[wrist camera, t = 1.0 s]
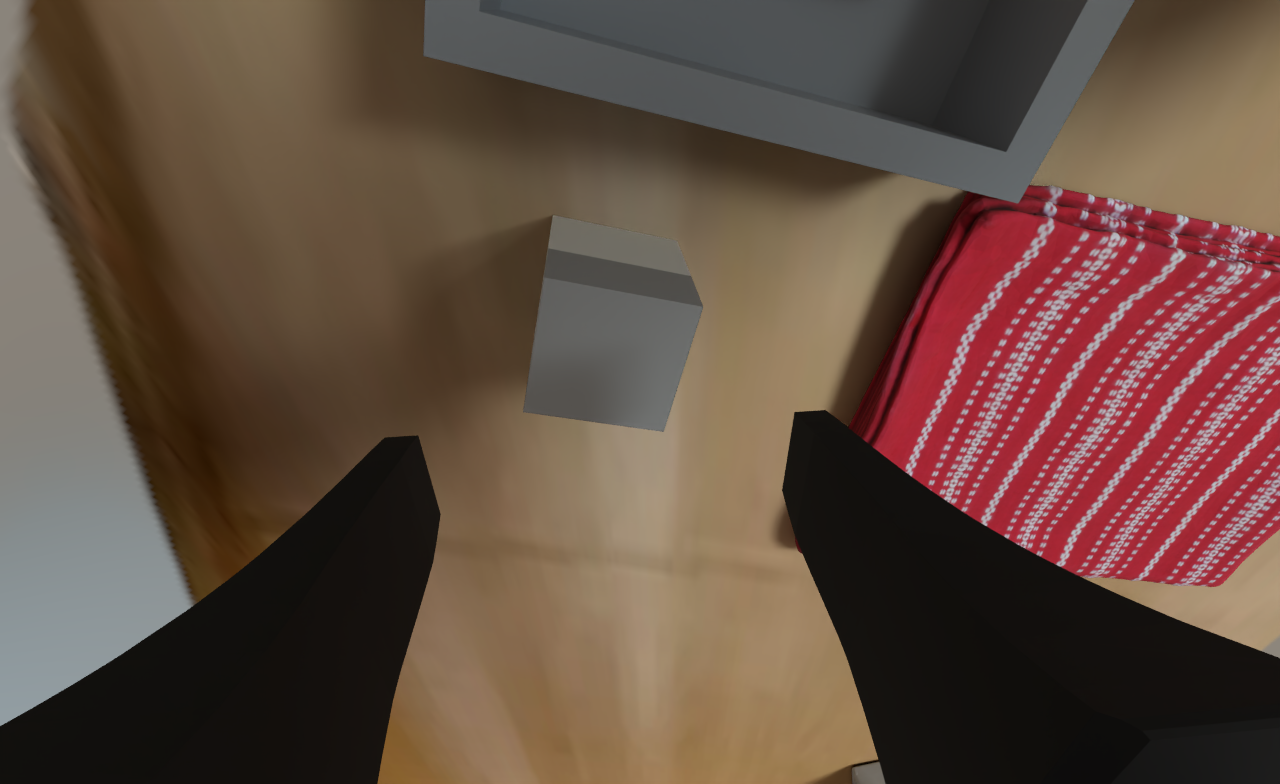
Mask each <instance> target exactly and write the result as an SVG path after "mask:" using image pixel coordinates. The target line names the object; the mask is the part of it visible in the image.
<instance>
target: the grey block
mask: <svg viewBox="0 0 1280 784" xmlns="http://www.w3.org/2000/svg"><path fill="white" fill-rule="evenodd" d="M702 309H703V305H702V302H701V300H700V297H699V295H698V292H697V290H696V287H695V285H694V282H693V280H692V277H691V275H690V272H689V270H688V267H687V264H686V262H685V259H684V257H683V254H682V252H681V249H680V247H679V244H678V242H677V240H672V239H667V238H662V237H658V236H653V235H648V234H643V233H638V232H633V231H629V230H624V229H619V228H614V227H609V226H604V225H599V224H595V223H590V222H585V221H580V220H575V219H570V218H566V217H561V216H556V215H553V218H552V224H551V231H550V237H549V243H548V250H547V256H546V263H545V269H544V276H543V282H542V289H541V295H540V301H539V308H538V314H537V321H536V327H535V334H534V341H533V348H532V355H531V362H530V368H529V375H528V382H527V389H526V396H525V403H524V410H523V412H526V413H534V414H541V415H548V416H555V417H562V418H569V419H576V420H583V421H591V422H598V423H605V424H612V425H619V426H626V427H633V428H640V429H648V430H655V431H662V432H664V429H665V426H666V422H667V419H668V416H669V413H670V410H671V407H672V404H673V400H674V397H675V394H676V391H677V388H678V385H679V382H680V378H681V375H682V372H683V369H684V366H685V363H686V360H687V356H688V353H689V350H690V347H691V344H692V341H693V338H694V334H695V331H696V328H697V325H698V322H699V319H700V316H701V312H702Z"/></svg>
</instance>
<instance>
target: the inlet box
mask: <svg viewBox="0 0 1280 784" xmlns="http://www.w3.org/2000/svg"><path fill="white" fill-rule="evenodd" d="M1133 2H1134V0H425V24H424V54H423V56H426V57H430V58H434V59H438V60H442V61H446V62H450V63H454V64H458V65H462V66H466V67H470V68H474V69H478V70H482V71H486V72H490V73H494V74H498V75H502V76H506V77H510V78H514V79H518V80H522V81H526V82H530V83H534V84H538V85H542V86H546V87H550V88H554V89H559V90H563V91H567V92H571V93H575V94H579V95H583V96H587V97H591V98H595V99H599V100H603V101H607V102H611V103H615V104H619V105H623V106H627V107H631V108H635V109H639V110H643V111H647V112H651V113H655V114H659V115H663V116H667V117H671V118H675V119H679V120H683V121H687V122H691V123H695V124H700V125H704V126H708V127H712V128H716V129H720V130H724V131H728V132H732V133H736V134H740V135H744V136H748V137H752V138H756V139H760V140H764V141H768V142H772V143H776V144H780V145H784V146H788V147H792V148H796V149H800V150H804V151H808V152H812V153H816V154H820V155H824V156H828V157H832V158H837V159H841V160H845V161H849V162H853V163H857V164H861V165H865V166H869V167H873V168H877V169H881V170H885V171H889V172H893V173H897V174H901V175H905V176H909V177H913V178H917V179H921V180H925V181H929V182H933V183H937V184H941V185H945V186H949V187H953V188H957V189H961V190H965V191H969V192H974V193H978V194H982V195H986V196H990V197H994V198H998V199H1002V200H1006V201H1010V202H1014V203H1019V201H1020V200H1021V198H1022V196H1023V194H1024V193H1025V191H1026V189H1027V187H1028V186H1029V184H1030V182H1031V180H1032V179H1033V177H1034V175H1035V173H1036V172H1037V170H1038V168H1039V166H1040V165H1041V163H1042V161H1043V159H1044V158H1045V156H1046V154H1047V152H1048V151H1049V149H1050V147H1051V145H1052V144H1053V142H1054V140H1055V138H1056V137H1057V135H1058V133H1059V131H1060V130H1061V128H1062V126H1063V124H1064V123H1065V121H1066V119H1067V117H1068V116H1069V114H1070V112H1071V111H1072V109H1073V107H1074V105H1075V104H1076V102H1077V100H1078V98H1079V97H1080V95H1081V93H1082V91H1083V90H1084V88H1085V86H1086V84H1087V83H1088V81H1089V79H1090V77H1091V76H1092V74H1093V72H1094V70H1095V69H1096V67H1097V65H1098V63H1099V62H1100V60H1101V58H1102V56H1103V55H1104V53H1105V51H1106V49H1107V48H1108V46H1109V44H1110V42H1111V41H1112V39H1113V37H1114V35H1115V34H1116V32H1117V30H1118V28H1119V27H1120V25H1121V23H1122V21H1123V20H1124V18H1125V16H1126V14H1127V13H1128V11H1129V9H1130V7H1131V6H1132V4H1133Z"/></svg>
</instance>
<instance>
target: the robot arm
mask: <svg viewBox="0 0 1280 784" xmlns="http://www.w3.org/2000/svg"><path fill="white" fill-rule="evenodd" d="M782 491H783V495H784V499H785V502H786V506H787V510H788V514H789V517H790V520H791V524H792V527H793V531H794V534H795V537H796V539H797V542H798V544H799V546H800V549H801V551H802V554H803V556H804V558H805V561H806V563H807V565H808V568H809V570H810V572H811V575H812V577H813V579H814V581H815V584H816V586H817V588H818V591H819V593H820V595H821V597H822V600H823V602H824V604H825V607H826V609H827V611H828V613H829V616H830V618H831V620H832V623H833V625H834V627H835V630H836V632H837V634H838V636H839V639H840V642H841V644H842V647H843V649H844V652H845V654H846V657H847V660H848V663H849V666H850V669H851V672H852V675H853V678H854V681H855V684H856V687H857V691H858V694H859V697H860V700H861V703H862V706H863V709H864V712H865V716H866V719H867V722H868V726H869V729H870V732H871V736H872V739H873V743H874V746H875V749H876V753H877V756H878V759H879V763H880V766H881V769H882V773H883V777H884V780H885V784H1280V658H1278V657H1275V656H1273V655H1270V654H1267V653H1265V652H1262V651H1259V650H1257V649H1254V648H1251V647H1249V646H1246V645H1243V644H1241V643H1238V642H1235V641H1233V640H1230V639H1227V638H1225V637H1222V636H1219V635H1217V634H1214V633H1211V632H1209V631H1206V630H1203V629H1201V628H1198V627H1195V626H1193V625H1190V624H1187V623H1185V622H1182V621H1180V620H1177V619H1175V618H1172V617H1170V616H1167V615H1165V614H1163V613H1160V612H1158V611H1156V610H1153V609H1151V608H1149V607H1146V606H1144V605H1142V604H1139V603H1137V602H1135V601H1132V600H1130V599H1128V598H1125V597H1123V596H1121V595H1118V594H1116V593H1114V592H1112V591H1110V590H1108V589H1105V588H1103V587H1101V586H1099V585H1097V584H1094V583H1092V582H1090V581H1088V580H1086V579H1084V578H1082V577H1080V576H1078V575H1076V574H1074V573H1072V572H1070V571H1068V570H1066V569H1064V568H1062V567H1060V566H1058V565H1056V564H1054V563H1052V562H1050V561H1048V560H1046V559H1044V558H1042V557H1040V556H1038V555H1036V554H1034V553H1033V552H1031V551H1029V550H1027V549H1025V548H1023V547H1021V546H1020V545H1018V544H1016V543H1014V542H1013V541H1011V540H1009V539H1007V538H1006V537H1004V536H1002V535H1001V534H999V533H997V532H995V531H994V530H992V529H990V528H989V527H987V526H985V525H983V524H982V523H980V522H978V521H977V520H975V519H974V518H972V517H970V516H969V515H967V514H966V513H964V512H962V511H961V510H959V509H958V508H956V507H955V506H953V505H952V504H950V503H949V502H947V501H946V500H945V499H943V498H942V497H940V496H939V495H937V494H936V493H934V492H933V491H931V490H930V489H928V488H927V487H925V486H924V485H923V484H921V483H920V482H918V481H917V480H916V479H914V478H913V477H912V476H910V475H909V474H907V473H906V472H905V471H903V470H902V469H901V468H899V467H898V466H897V465H895V464H894V463H893V462H891V461H890V460H889V459H888V458H886V457H885V456H884V455H882V454H881V453H880V452H878V451H877V450H876V449H875V448H873V447H872V446H871V445H870V444H868V443H867V442H866V441H865V440H863V439H862V438H861V437H859V436H858V435H857V434H856V433H854V432H853V431H852V430H851V429H849V428H848V427H847V426H846V425H844V424H843V423H842V422H840V421H839V420H838V419H837V418H835V417H834V416H833V415H831V414H830V413H828V412H827V411H826V410H821V411H805V412H795V413H794V419H793V426H792V432H791V438H790V445H789V451H788V457H787V463H786V470H785V476H784V482H783V489H782ZM439 521H440V511H439V507H438V504H437V500H436V497H435V493H434V490H433V486H432V483H431V479H430V476H429V472H428V469H427V465H426V461H425V458H424V454H423V451H422V447H421V444H420V440H419V437H418V436H403V437H387V438H384V439H383V440H382V441H381V442H380V443H379V444H378V445H377V446H375V447H374V448H373V449H372V450H371V451H370V452H369V453H368V454H367V455H366V456H365V457H364V458H363V459H362V460H361V461H360V462H359V463H358V464H357V465H356V466H355V467H354V468H353V469H352V470H351V471H350V472H349V473H348V474H347V475H346V476H345V477H344V478H343V479H342V480H341V481H340V482H339V483H338V484H337V485H336V486H335V487H334V488H333V489H332V490H331V491H329V492H328V493H327V494H326V495H325V496H324V497H323V498H322V499H321V500H320V501H319V502H318V503H317V504H316V505H315V506H314V507H313V508H312V509H311V510H310V511H309V512H307V513H306V514H305V515H304V516H303V517H302V518H301V519H300V520H299V521H297V522H296V523H295V524H294V525H293V526H292V527H291V528H289V529H288V530H287V531H286V532H285V533H284V534H283V535H281V536H280V537H279V538H278V539H277V540H276V541H275V542H273V543H272V544H271V545H270V546H269V547H268V548H267V549H266V550H264V551H263V552H262V553H261V554H260V555H259V556H257V557H256V558H255V559H254V560H253V561H251V562H250V563H249V564H248V565H246V566H245V567H244V568H243V569H241V570H240V571H239V572H238V573H236V574H235V575H234V576H233V577H231V578H230V579H229V580H227V581H226V582H225V583H223V584H222V585H221V586H219V587H218V588H217V589H215V590H214V591H213V592H211V593H210V594H209V595H207V596H206V597H205V598H203V599H202V600H201V601H199V602H198V603H197V604H195V605H194V606H193V607H191V608H190V609H188V610H187V611H186V612H184V613H183V614H181V615H180V616H178V617H177V618H175V619H174V620H172V621H171V622H169V623H168V624H166V625H165V626H163V627H162V628H160V629H159V630H157V631H156V632H154V633H153V634H151V635H150V636H148V637H147V638H145V639H144V640H142V641H141V642H140V643H138V644H136V645H135V646H134V647H132V648H131V649H129V650H128V651H126V652H125V653H123V654H122V655H120V656H118V657H117V658H115V659H114V660H112V661H111V662H109V663H107V664H106V665H104V666H102V667H101V668H99V669H98V670H96V671H94V672H93V673H91V674H89V675H88V676H86V677H84V678H83V679H81V680H80V681H78V682H76V683H75V684H73V685H71V686H70V687H68V688H66V689H64V690H63V691H61V692H59V693H58V694H56V695H54V696H52V697H51V698H49V699H48V700H46V701H44V702H43V703H41V704H39V705H37V706H36V707H34V708H32V709H30V710H28V711H27V712H25V713H23V714H21V715H20V716H18V717H16V718H14V719H12V720H11V721H9V722H7V723H5V724H4V725H2V726H0V784H377V782H378V776H379V771H380V765H381V759H382V754H383V749H384V744H385V738H386V733H387V728H388V723H389V718H390V713H391V708H392V703H393V698H394V694H395V690H396V687H397V683H398V679H399V675H400V671H401V668H402V665H403V662H404V658H405V655H406V652H407V648H408V645H409V642H410V638H411V635H412V632H413V628H414V625H415V622H416V619H417V615H418V612H419V609H420V605H421V602H422V599H423V595H424V592H425V588H426V585H427V582H428V578H429V575H430V571H431V568H432V564H433V559H434V553H435V547H436V542H437V535H438V528H439Z"/></svg>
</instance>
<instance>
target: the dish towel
mask: <svg viewBox="0 0 1280 784" xmlns="http://www.w3.org/2000/svg"><path fill="white" fill-rule="evenodd" d="M848 428H849V429H851V430H852V431H853V432H854V433H856V434H857V435H858V436H859V437H861V438H862V439H863V440H865V441H866V442H867V443H868V444H870V445H871V446H872V447H873V448H875V449H876V450H877V451H878V452H880V453H881V454H882V455H884V456H885V457H886V458H888V459H889V460H890V461H891V462H893V463H894V464H895V465H897V466H898V467H899V468H901V469H902V470H903V471H905V472H906V473H907V474H909V475H910V476H912V477H913V478H914V479H916V480H917V481H918V482H920V483H921V484H923V485H924V486H925V487H927V488H928V489H930V490H931V491H933V492H934V493H936V494H937V495H939V496H940V497H942V498H943V499H945V500H946V501H947V502H949V503H950V504H952V505H953V506H955V507H956V508H958V509H959V510H961V511H962V512H964V513H966V514H967V515H969V516H970V517H972V518H974V519H975V520H977V521H978V522H980V523H982V524H983V525H985V526H987V527H989V528H990V529H992V530H994V531H995V532H997V533H999V534H1001V535H1002V536H1004V537H1006V538H1007V539H1009V540H1011V541H1013V542H1014V543H1016V544H1018V545H1020V546H1021V547H1023V548H1025V549H1027V550H1029V551H1031V552H1033V553H1034V554H1036V555H1038V556H1040V557H1042V558H1044V559H1046V560H1048V561H1050V562H1052V563H1054V564H1056V565H1058V566H1060V567H1062V568H1064V569H1066V570H1068V571H1070V572H1072V573H1074V574H1076V575H1078V576H1082V577H1087V578H1094V577H1105V578H1117V579H1125V580H1131V581H1136V580H1141V581H1150V582H1155V583H1165V584H1171V585H1176V586H1184V585H1187V586H1190V585H1196V586H1208V587H1216V586H1219V585H1221V584H1222V583H1223V582H1224V581H1225V580H1226V579H1227V578H1228V577H1229V576H1230V575H1231V574H1232V573H1233V572H1234V571H1235V570H1236V569H1237V568H1238V566H1239V565H1240V564H1241V563H1242V562H1243V561H1244V560H1245V559H1246V558H1247V557H1248V556H1249V555H1250V554H1252V553H1253V552H1254V551H1255V550H1256V549H1257V548H1258V547H1259V546H1260V545H1262V544H1263V543H1264V542H1265V541H1266V540H1267V539H1268V538H1270V537H1271V536H1272V535H1273V534H1274V533H1276V532H1277V531H1278V530H1279V529H1280V237H1278V236H1274V235H1272V234H1270V233H1260V232H1256V231H1254V230H1251V229H1247V228H1244V227H1242V226H1234V225H1222V224H1218V223H1216V222H1210V221H1203V220H1199V219H1194V218H1190V217H1186V216H1183V215H1177V214H1168V213H1164V212H1160V211H1153V210H1151V209H1150V208H1148V207H1139V206H1136V205H1133V204H1131V203H1127V202H1123V201H1121V200H1118V199H1112V198H1100V197H1094V196H1093V195H1091V194H1084V193H1079V192H1074V191H1070V190H1064V189H1061V188H1060V187H1055V186H1033V185H1029V186H1028V187H1027V189H1026V191H1025V193H1024V194H1023V196H1022V198H1021V200H1020V201H1019V203H1014V202H1010V201H1006V200H1002V199H998V198H994V197H990V196H986V195H982V194H978V193H974V192H969V191H968V192H967V194H966V196H965V198H964V200H963V203H962V205H961V206H960V208H959V210H958V211H957V213H956V215H955V217H954V219H953V221H952V223H951V225H950V227H949V229H948V231H947V233H946V235H945V237H944V239H943V241H942V243H941V245H940V247H939V249H938V251H937V253H936V255H935V257H934V259H933V260H932V262H931V264H930V266H929V268H928V270H927V272H926V274H925V276H924V278H923V281H922V283H921V285H920V287H919V289H918V291H917V293H916V295H915V297H914V299H913V301H912V304H911V306H910V308H909V310H908V312H907V313H906V315H905V317H904V319H903V321H902V322H901V324H900V326H899V328H898V330H897V333H896V335H895V337H894V339H893V341H892V342H891V344H890V346H889V348H888V350H887V352H886V354H885V356H884V358H883V360H882V362H881V364H880V366H879V368H878V370H877V372H876V374H875V376H874V378H873V380H872V382H871V384H870V386H869V388H868V389H867V391H866V393H865V395H864V397H863V399H862V401H861V403H860V406H859V408H858V410H857V412H856V414H855V415H854V417H853V419H852V422H851V423H850V425H849V427H848ZM795 542H796V546H797V549H798V551H799V552H800V553H802V551H801V549H800V546H799V544H798V542H797V539H796V537H795Z"/></svg>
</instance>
